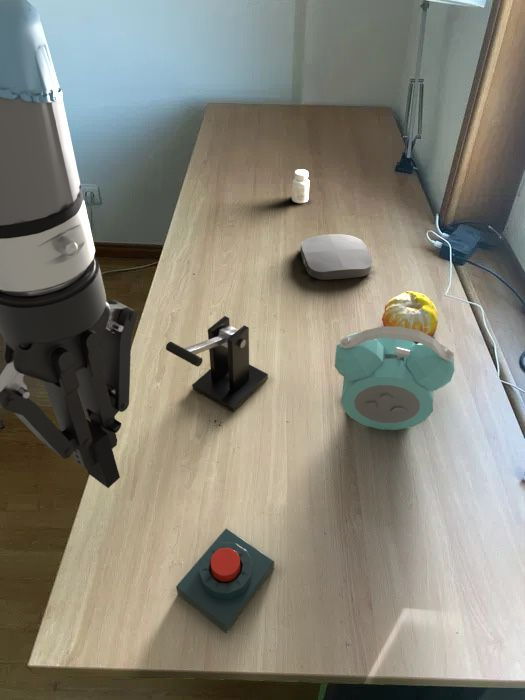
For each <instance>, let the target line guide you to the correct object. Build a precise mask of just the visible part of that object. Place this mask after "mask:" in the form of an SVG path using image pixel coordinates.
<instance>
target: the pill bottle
mask: <svg viewBox="0 0 525 700" xmlns="http://www.w3.org/2000/svg"><path fill="white" fill-rule="evenodd" d="M308 178H309V171H308V170H306V169H304V168H303V169H302V168H301V169H296V170H295V171H294V178H293V179H292V185H291V200H292V202H294V203H297V204H305V203H307V202H308V201H309V195H310V179H308Z"/></svg>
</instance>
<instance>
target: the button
mask: <svg viewBox="0 0 525 700" xmlns="http://www.w3.org/2000/svg"><path fill="white" fill-rule="evenodd" d="M211 572H212V574H213V576H214V577H215V579H217V580H218V581H221V582H229V581H232V580H234V579H235V578H236V577H237V576H238V574H239V572H240V558H239V556H238V554H237V553H236V552H235V551H234V550H232V549H230V548H222V549H219V550H217V551H216V552H215V553H214V554H213V556H212V558H211Z"/></svg>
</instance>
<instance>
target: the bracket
mask: <svg viewBox="0 0 525 700" xmlns="http://www.w3.org/2000/svg"><path fill="white" fill-rule="evenodd" d="M228 326H231V325H230V317H228V316H226V315H224V316H223V317H222V318H220V319H219V320H218V321H216V322H215V323H214V324H213V325H212V326H210V327H209V328H207V340H209V339H212V338H214V337H217V336H218V335H219V330H220V329H223V328H226V327H228ZM237 330H238V331H237V332H235V333H234V334H233V335H232V336H231V337H229V338H228V339H227V346H228V348H226V347H225V346H223V345H219V346H216V347H214V348H211V349H208V352H209V362H210V363H209V365H210V369H208V371H206V372H205V373H204V374H203V375H202V376H201V377H199V378H198V379H197V380H196V381H194V382H193V383H192V390H193V391H195V392H196V393H198V394H200V395H202V396H203V397H205V398H207V399H208V400H210V401H212V402H214V403H215V404H217V405H220V406H221V407H223V408H225V409H226V410H227V411H229V412H231V413H235V411H236V410H237V409H239V407H241V405H243V404H244V403H245V402H246V401H247V400H248V399H250V397H251V396H252V395H253V394H254V393H255V392H256V391H257V390H258V389H259V388H260V387H261V386H262V385H263V384H264V383H265V382H266V381H267V380H268V379H269V373H267V372H265V371H263V370H261V369H259V368H258V367H255V366H253V365H251V364H250V328H249V326H247V325H244V324H243V325H242V326H241V327H240V328H239V329H237Z"/></svg>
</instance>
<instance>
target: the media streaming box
mask: <svg viewBox="0 0 525 700" xmlns="http://www.w3.org/2000/svg"><path fill="white" fill-rule="evenodd" d="M300 256H301V260H302V262H303V265H304V268H305V271H306V272H307V274H308V275H309V276H310V277H312V278H313V279H314V278H315V279H317V280H340V279H352V278H362V277H365V276H368V275H369V274H370V273H371V271H372V266H373V259H372V256H371V253H370V251H369V248H368V247H367V245H366V244H365V242H364V241H363V240H362V239H361V238H358V237H356V236H354V235H350V234H340V233H329V234H320V235H313V236H310V237H308V238H305V239H304V240H303V241H302V242H301V243H300Z"/></svg>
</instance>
